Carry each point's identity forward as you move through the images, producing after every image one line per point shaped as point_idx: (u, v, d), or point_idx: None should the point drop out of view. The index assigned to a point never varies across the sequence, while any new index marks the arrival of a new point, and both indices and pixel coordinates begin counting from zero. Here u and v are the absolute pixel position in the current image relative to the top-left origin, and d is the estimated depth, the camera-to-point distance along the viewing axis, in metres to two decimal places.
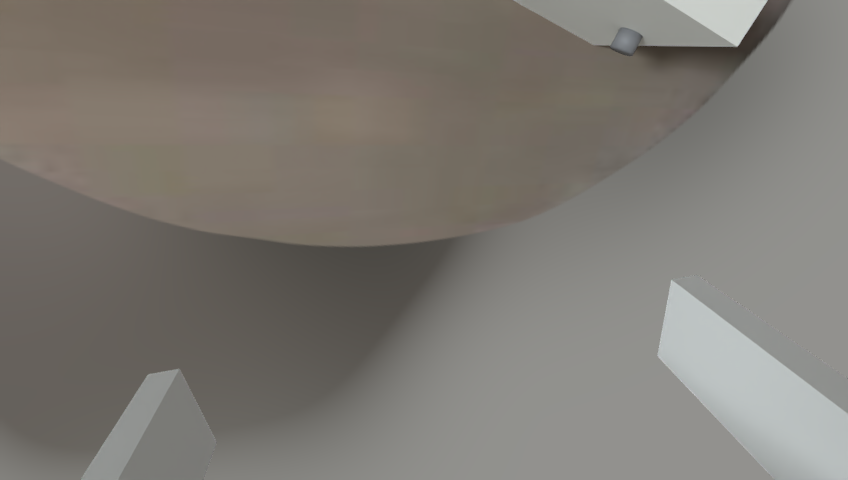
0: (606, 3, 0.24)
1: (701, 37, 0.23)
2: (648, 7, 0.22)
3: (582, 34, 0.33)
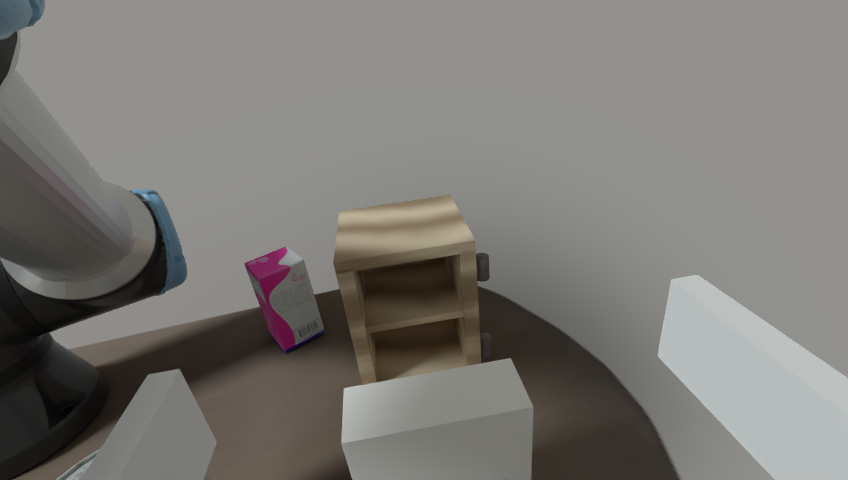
0: (441, 476, 0.25)
1: (513, 427, 0.24)
2: (454, 444, 0.24)
3: None
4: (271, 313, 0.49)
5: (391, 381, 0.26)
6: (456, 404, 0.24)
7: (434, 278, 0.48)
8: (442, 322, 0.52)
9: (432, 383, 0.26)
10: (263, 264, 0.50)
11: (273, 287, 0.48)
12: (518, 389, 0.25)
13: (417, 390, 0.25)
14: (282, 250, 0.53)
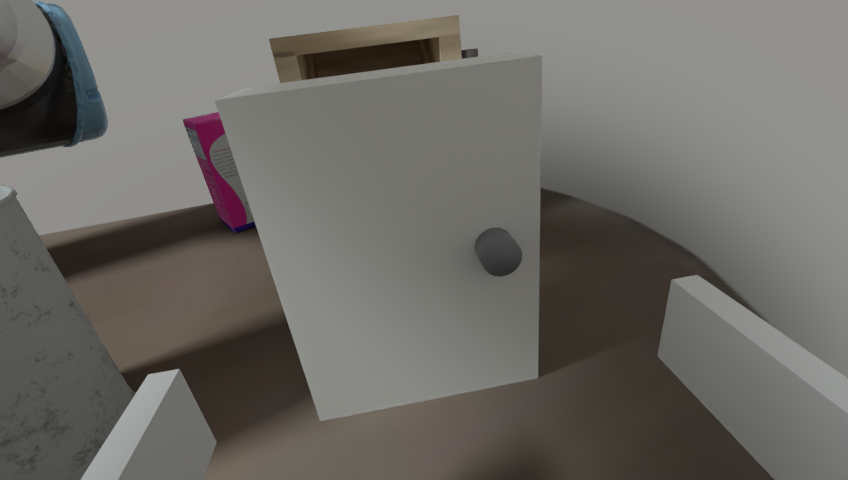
0: (395, 205, 0.16)
1: (510, 104, 0.15)
2: (412, 130, 0.15)
3: (497, 365, 0.20)
4: (213, 174, 0.40)
5: None
6: (416, 70, 0.15)
7: None
8: None
9: (382, 71, 0.16)
10: (204, 116, 0.41)
11: (214, 139, 0.39)
12: (517, 55, 0.15)
13: (356, 75, 0.16)
14: None
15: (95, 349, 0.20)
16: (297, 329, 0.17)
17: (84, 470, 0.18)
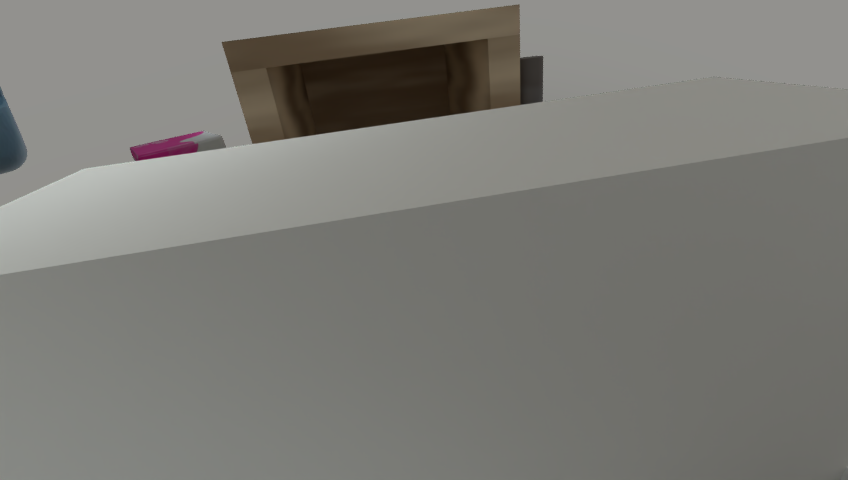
0: None
1: None
2: (551, 349, 0.04)
3: None
4: None
5: (271, 142, 0.07)
6: (558, 145, 0.05)
7: None
8: None
9: (431, 129, 0.06)
10: (157, 144, 0.30)
11: None
12: (847, 95, 0.05)
13: (365, 144, 0.06)
14: (195, 133, 0.33)
15: None
16: None
17: None
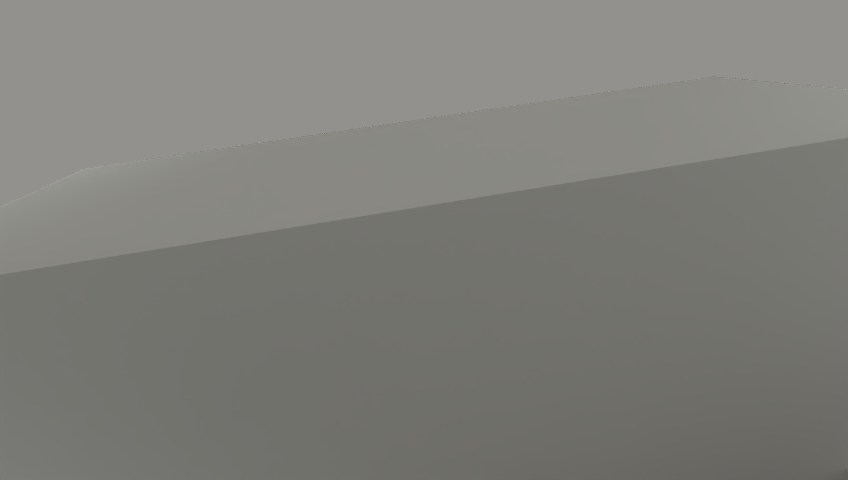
0: None
1: None
2: (552, 349, 0.04)
3: None
4: None
5: (271, 142, 0.07)
6: (558, 146, 0.05)
7: None
8: None
9: (431, 129, 0.06)
10: None
11: None
12: None
13: (364, 144, 0.06)
14: None
15: None
16: None
17: None
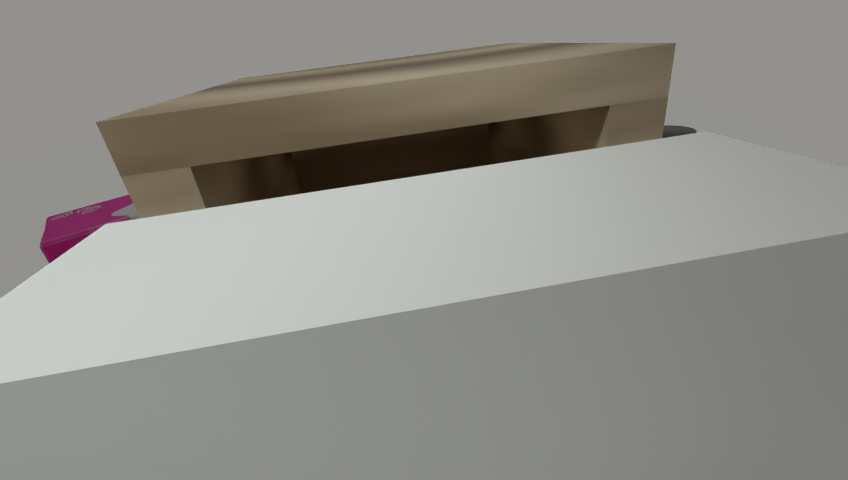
0: None
1: (847, 336, 0.05)
2: (550, 419, 0.05)
3: None
4: None
5: (284, 198, 0.07)
6: (556, 226, 0.05)
7: None
8: None
9: (436, 191, 0.07)
10: (81, 216, 0.22)
11: None
12: (827, 172, 0.05)
13: (374, 209, 0.06)
14: None
15: None
16: None
17: None
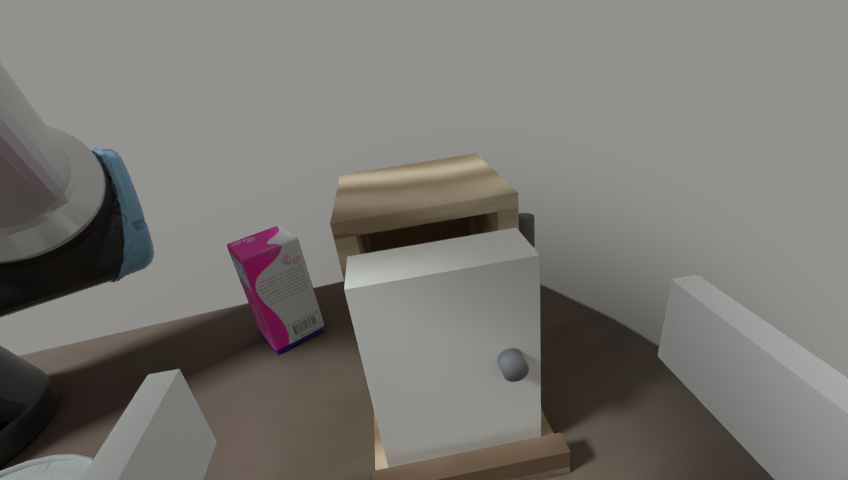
0: (447, 338, 0.25)
1: (520, 280, 0.24)
2: (459, 297, 0.23)
3: (512, 432, 0.29)
4: (258, 304, 0.40)
5: (395, 249, 0.26)
6: (461, 258, 0.24)
7: None
8: None
9: (436, 247, 0.25)
10: (249, 244, 0.41)
11: (260, 271, 0.39)
12: (524, 245, 0.24)
13: (421, 253, 0.25)
14: (273, 230, 0.44)
15: None
16: (379, 412, 0.26)
17: None
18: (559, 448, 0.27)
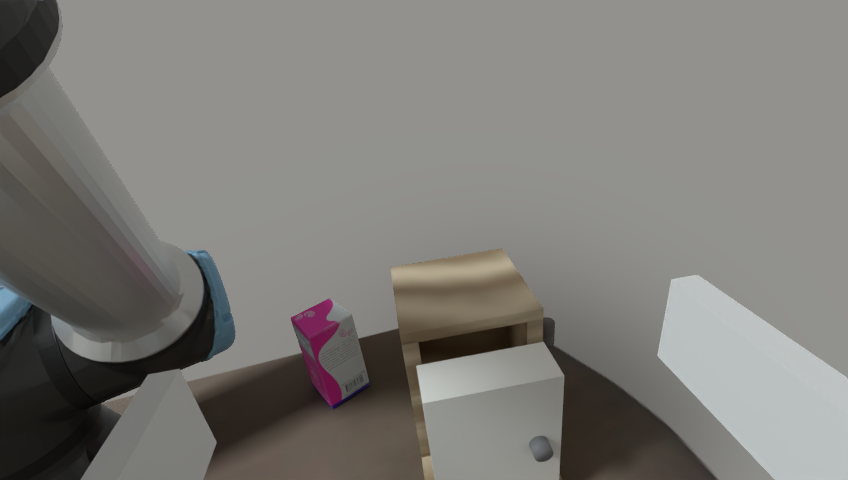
0: (493, 431, 0.33)
1: (549, 392, 0.32)
2: (504, 405, 0.32)
3: None
4: (320, 370, 0.48)
5: (452, 360, 0.34)
6: (505, 375, 0.32)
7: (488, 334, 0.47)
8: None
9: (484, 361, 0.34)
10: (311, 319, 0.49)
11: (322, 344, 0.47)
12: (551, 364, 0.33)
13: (473, 366, 0.33)
14: (327, 303, 0.52)
15: None
16: None
17: None
18: None
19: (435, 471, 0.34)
